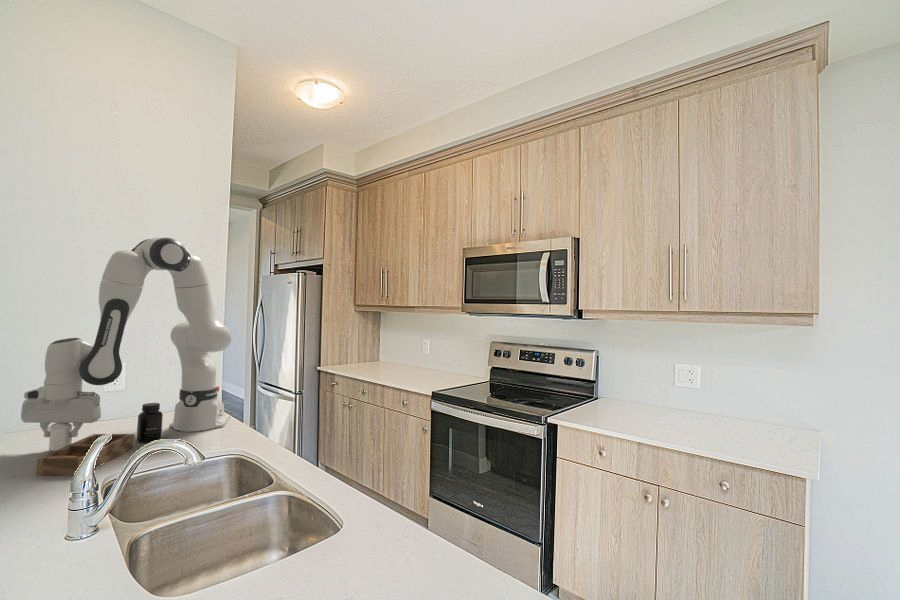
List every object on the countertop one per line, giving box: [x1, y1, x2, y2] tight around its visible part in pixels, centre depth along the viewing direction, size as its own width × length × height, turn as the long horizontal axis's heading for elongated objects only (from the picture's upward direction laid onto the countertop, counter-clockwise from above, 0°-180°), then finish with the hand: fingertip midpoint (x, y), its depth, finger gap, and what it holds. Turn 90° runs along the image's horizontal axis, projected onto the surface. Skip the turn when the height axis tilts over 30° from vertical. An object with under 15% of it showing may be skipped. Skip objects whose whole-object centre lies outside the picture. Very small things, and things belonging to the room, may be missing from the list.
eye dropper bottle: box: [48, 423, 73, 452], centre depth 133 cm, size 4×6×12 cm
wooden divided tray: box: [35, 433, 135, 476], centre depth 125 cm, size 22×12×5 cm, turn 7°
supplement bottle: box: [136, 402, 164, 444], centre depth 145 cm, size 7×7×12 cm
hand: (61, 436), depth 133 cm, fingers closed on eye dropper bottle, 5 cm apart
